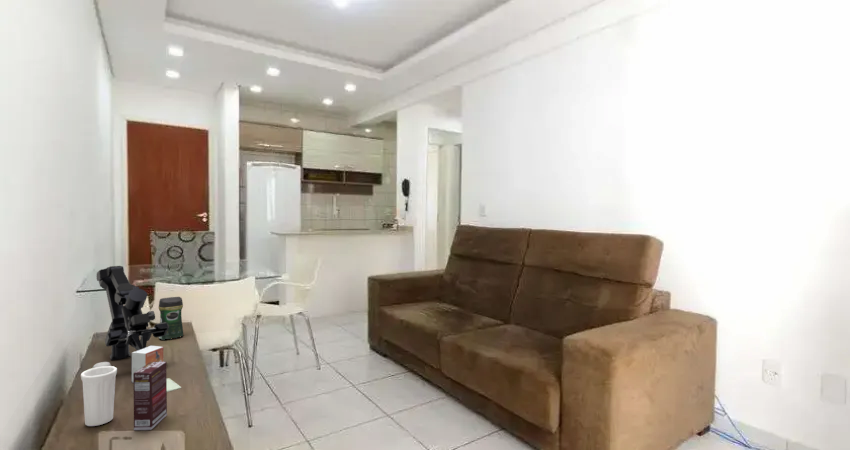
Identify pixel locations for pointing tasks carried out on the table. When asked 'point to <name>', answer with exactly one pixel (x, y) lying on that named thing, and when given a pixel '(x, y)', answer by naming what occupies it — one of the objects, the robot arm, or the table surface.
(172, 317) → the coffee jar
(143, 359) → the small box
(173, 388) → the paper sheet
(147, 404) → the supplement box
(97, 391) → the cup
